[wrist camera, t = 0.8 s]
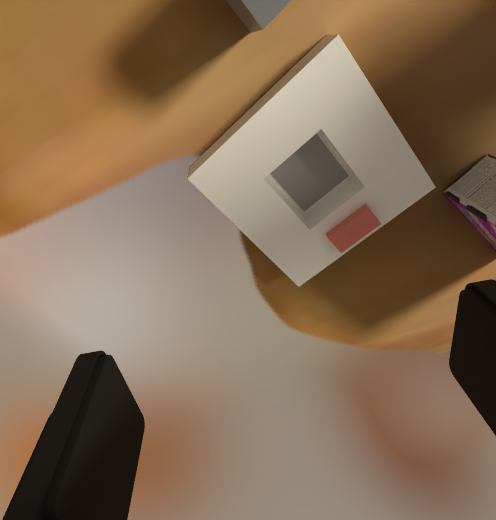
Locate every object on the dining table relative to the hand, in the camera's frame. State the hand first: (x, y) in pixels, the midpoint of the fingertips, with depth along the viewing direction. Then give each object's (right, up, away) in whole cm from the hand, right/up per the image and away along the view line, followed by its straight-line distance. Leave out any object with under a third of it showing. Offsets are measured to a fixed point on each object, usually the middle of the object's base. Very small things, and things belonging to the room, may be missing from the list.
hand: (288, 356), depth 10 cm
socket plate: (+4, +10, +21) cm, 24 cm away
